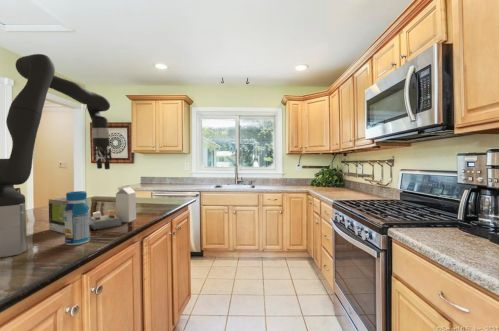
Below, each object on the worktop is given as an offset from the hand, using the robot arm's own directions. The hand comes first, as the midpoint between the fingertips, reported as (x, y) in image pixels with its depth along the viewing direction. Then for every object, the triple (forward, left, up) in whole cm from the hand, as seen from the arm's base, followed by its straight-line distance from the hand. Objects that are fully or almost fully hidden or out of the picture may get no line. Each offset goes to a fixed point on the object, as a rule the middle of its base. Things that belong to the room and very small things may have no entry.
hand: (103, 168), depth 136 cm
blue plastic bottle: (-28, +16, -28) cm, 43 cm away
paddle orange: (-4, -2, -23) cm, 23 cm away
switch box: (-4, +1, -28) cm, 29 cm away
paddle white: (-4, +4, -23) cm, 23 cm away
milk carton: (-2, -10, -28) cm, 30 cm away
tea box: (-1, +16, -28) cm, 33 cm away
